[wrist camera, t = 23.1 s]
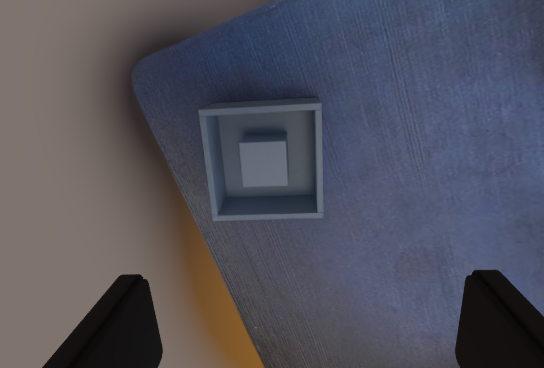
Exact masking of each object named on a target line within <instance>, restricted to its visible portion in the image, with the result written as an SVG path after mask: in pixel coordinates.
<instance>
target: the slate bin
mask: <svg viewBox="0 0 544 368" xmlns="http://www.w3.org/2000/svg"><path fill="white" fill-rule="evenodd" d="M198 113H199V120H200V128H201V135H202V143H203V150H204V158H205V165H206V173H207V180H208V188H209V196H210V203H211V211H212V215H213V216H212V218H213V221H228V220H265V219H302V218H323V158H322V103H321V101H320V100H319V98H318V97H311V98H294V99H277V100H260V101H242V102H225V103H212V104H210V105H208V106H206V107H204V108H201V109H199V110H198ZM275 132H287V138H288V158H289V179H288V185H287V186H261V187H243V183H242V172H241V162H240V152H239V142H240V141H241V140H242V138H243V137H244V136H245V134H254V133H275Z"/></svg>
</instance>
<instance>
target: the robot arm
mask: <svg viewBox="0 0 544 368" xmlns="http://www.w3.org/2000/svg"><path fill="white" fill-rule="evenodd" d="M162 353H163V348H162V343H161V338H160V334H159V329H158V324H157V320H156V315H155V310H154V306H153V301H152V296H151V292H150V287H149V283H148V281H147V280H146V279H143V277H142V276H141V275H140V274H138V275H137V274H136V275H120V276H119V277H118V278H117V279H116V281H115V282H114V283H113V284H112V286H110V288H109V289H108V290H107V291H106V292H105V294H104V295H103V296H102V297H101V299H100V300H99V301H98V302H97V303H96V304H95V305H94V307H93V308H92V309H91V310H90V312H89V313H88V314H87V315H86V316H85V318H84V319H83V320H82V321H81V322H80V323H79V324H78V326H77V327H76V328H75V329H74V330H73V332H72V333H71V334H70V335H69V336H68V338H67V339H66V340H65V341H64V342H63V344H62V345H61V346H60V347H59V348H58V349H57V351H56V352H55V353H54V354H53V355H52V357H51V358H50V359H49V360H48V361H47V363H46V364H45V365H44V366H43V367H42V368H158V366H159V363H160V361H161V358H162ZM455 353H456V359H457V362H458V364H459V366H460V368H544V317H543V315H542V314H541V313H540V312H539V311H538V310H537V309H536V308H535V307H534V306H533V305H532V304H531V303H530V302H529V301H528V300H527V299H526V298H525V297H524V296H523V295H522V294H521V293H520V292H519V291H518V290H517V289H516V288H515V287H514V286H513V285H512V284H511V283H510V282H509V280H508V279H507V278H506V277H505V276H504V275H503V274H502V273H501V272H499V271H498V270H475V271H473V272H472V275H468V276H467V277H466V280H465V286H464V293H463V300H462V307H461V314H460V320H459V327H458V334H457V341H456V348H455Z"/></svg>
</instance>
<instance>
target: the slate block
mask: <svg viewBox="0 0 544 368" xmlns="http://www.w3.org/2000/svg"><path fill="white" fill-rule="evenodd" d="M239 152H240V162H241V172H242V183H243V187H261V186H287V185H288V179H289V158H288V138H287V132H275V133H254V134H245V136H244V137H243V138H242V140H241V141H240V142H239Z"/></svg>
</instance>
